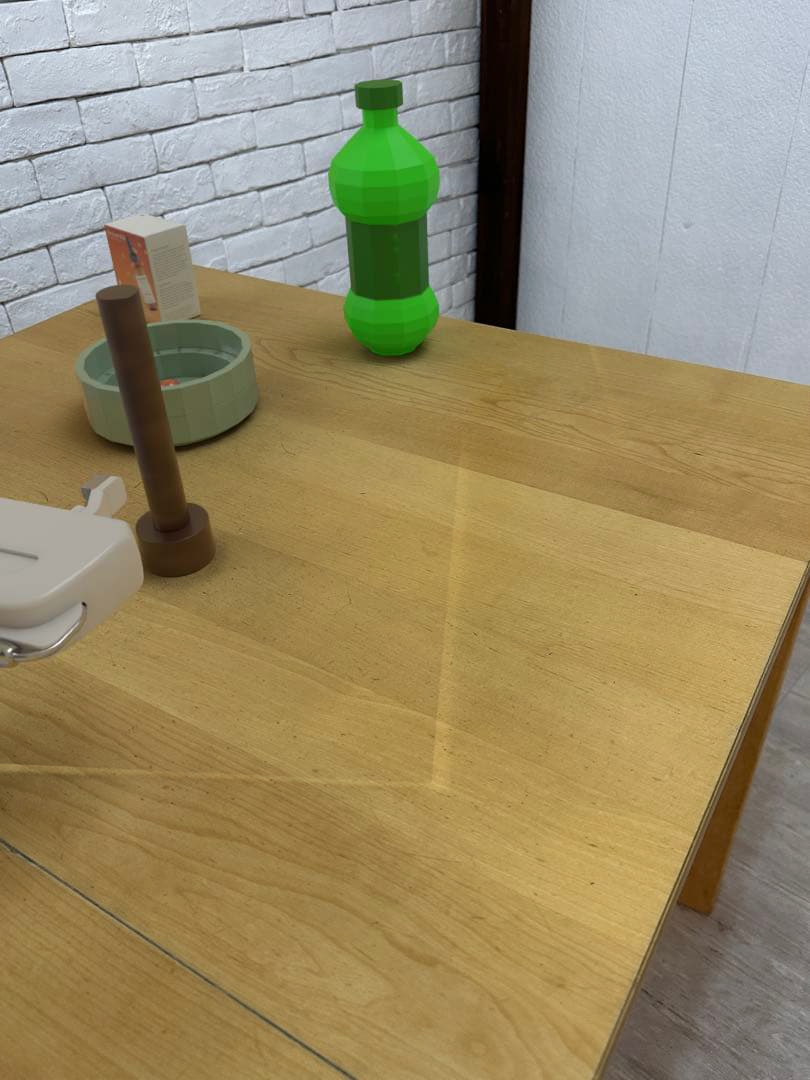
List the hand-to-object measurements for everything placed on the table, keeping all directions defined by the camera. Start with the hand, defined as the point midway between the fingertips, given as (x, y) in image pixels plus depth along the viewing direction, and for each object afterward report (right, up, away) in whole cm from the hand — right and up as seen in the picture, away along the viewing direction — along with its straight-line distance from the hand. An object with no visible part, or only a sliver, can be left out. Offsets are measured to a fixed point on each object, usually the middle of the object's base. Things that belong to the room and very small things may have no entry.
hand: (45, 473), depth 52 cm
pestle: (+4, -5, +15) cm, 16 cm away
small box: (-8, +22, +54) cm, 59 cm away
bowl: (-1, +8, +33) cm, 34 cm away
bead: (-1, +10, +33) cm, 34 cm away
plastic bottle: (+19, +16, +44) cm, 51 cm away
